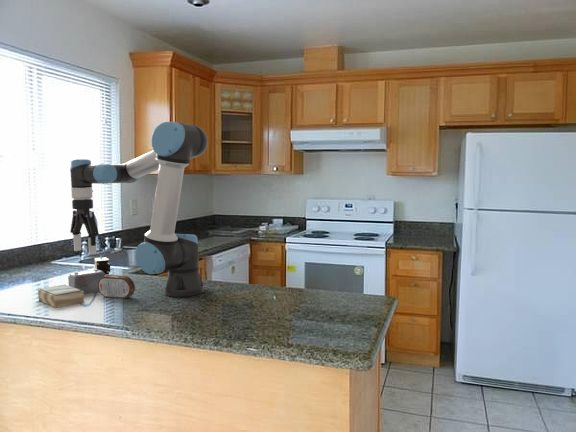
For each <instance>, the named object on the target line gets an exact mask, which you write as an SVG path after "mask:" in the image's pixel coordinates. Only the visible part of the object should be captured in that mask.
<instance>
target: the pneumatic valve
mask: <svg viewBox="0 0 576 432" xmlns="http://www.w3.org/2000/svg"><path fill="white" fill-rule="evenodd" d="M93 259H94V270H95V269H98V270H101V271H103V273H105V276H106V275H110V272H111V264H110V263H109V262H110V258H107V257H106V256H105V257H103V256H99V257H94V258H93Z"/></svg>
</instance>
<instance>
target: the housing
mask: <svg viewBox="0 0 576 432" xmlns="http://www.w3.org/2000/svg"><path fill="white" fill-rule="evenodd" d="M104 276H105V273H103V271H101V270H98V269H95V268H94V270H87V271H77V272H76V271H75V272H73V273H69V275H68V276H67V277H68V278H67V279H68V286H70V287H73V288H76V289H79V290H81V291H83V294H84V295H88V294H94V293H100V292H99V289H98V281H99V280H100V279H101V278H102V277H104Z"/></svg>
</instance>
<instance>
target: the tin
mask: <svg viewBox="0 0 576 432" xmlns="http://www.w3.org/2000/svg"><path fill="white" fill-rule="evenodd" d="M98 289H99V292H98V293H99V294H100V295H101V296H103V297H104V298H109V299H127V298H129V297H132V296H133V295H134V294H135V290H136V287H135V283H134V281H133V279H131V278H130V277H129V276H126V275H118V274H117V275H116V274H115V275H114V274H109V275H106V276H104V277H102V278H101V279H100V280H99V281H98Z"/></svg>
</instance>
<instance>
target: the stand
mask: <svg viewBox="0 0 576 432" xmlns="http://www.w3.org/2000/svg"><path fill="white" fill-rule="evenodd" d="M37 293H38V301H39V302H42V303H44V304H46V305H48V306H51V307H53V308H55V309H56V308H61V307H66V306H71V305H77V304H81V303H85V297H84V296H85V294H83V291H81V290H79V289H76V288H73V287H70V286H69V285H66V284H60V285H55V286H54V285H53V286H49V287H42V288H39V289H38V290H37Z"/></svg>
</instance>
